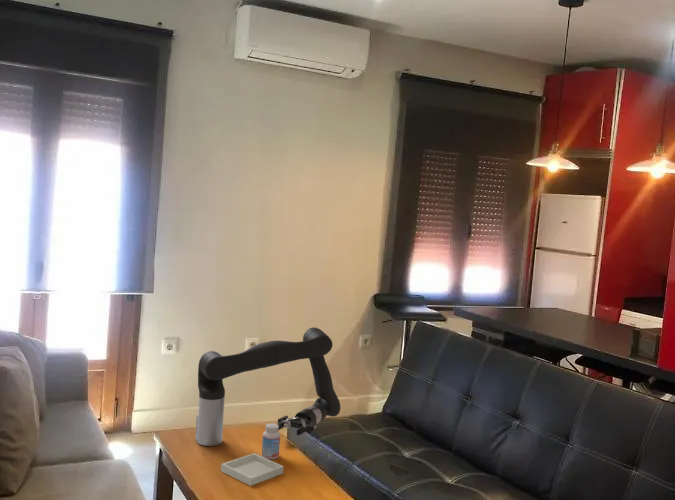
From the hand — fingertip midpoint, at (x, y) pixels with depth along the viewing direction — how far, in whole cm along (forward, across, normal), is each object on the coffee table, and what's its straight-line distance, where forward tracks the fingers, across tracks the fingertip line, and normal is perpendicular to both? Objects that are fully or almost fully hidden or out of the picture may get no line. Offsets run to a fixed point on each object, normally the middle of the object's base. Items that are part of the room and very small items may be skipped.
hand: (287, 430), depth 257 cm
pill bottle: (+11, 0, +6) cm, 13 cm away
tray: (+26, +2, +6) cm, 27 cm away
